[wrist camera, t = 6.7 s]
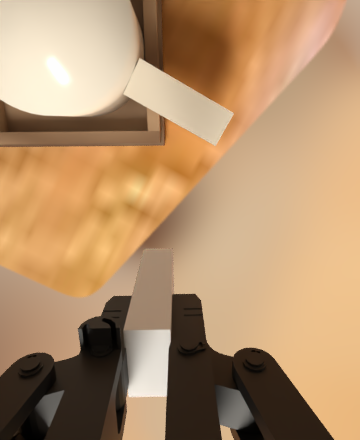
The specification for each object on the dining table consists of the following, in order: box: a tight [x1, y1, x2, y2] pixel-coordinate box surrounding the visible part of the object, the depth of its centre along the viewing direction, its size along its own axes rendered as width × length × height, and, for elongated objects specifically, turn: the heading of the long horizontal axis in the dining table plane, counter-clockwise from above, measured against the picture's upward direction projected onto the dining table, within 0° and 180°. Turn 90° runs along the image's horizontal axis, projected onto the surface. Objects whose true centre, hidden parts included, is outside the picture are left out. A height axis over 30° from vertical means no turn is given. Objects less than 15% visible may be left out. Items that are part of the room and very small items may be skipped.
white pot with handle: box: [0, 0, 234, 146], centre depth 22 cm, size 18×10×9 cm, turn 62°
